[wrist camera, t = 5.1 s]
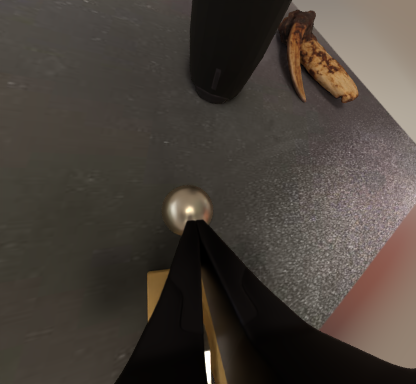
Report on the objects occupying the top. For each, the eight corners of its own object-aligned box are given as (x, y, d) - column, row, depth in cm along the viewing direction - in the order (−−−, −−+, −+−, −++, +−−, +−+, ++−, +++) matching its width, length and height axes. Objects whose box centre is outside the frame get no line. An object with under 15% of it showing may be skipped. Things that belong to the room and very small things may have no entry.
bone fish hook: (251, 44, 31) (319, 125, 29) (263, 12, 26) (344, 106, 25) (288, 25, 33) (353, 100, 32) (306, -7, 28) (382, 78, 27)
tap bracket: (148, 271, 20) (131, 300, 12) (217, 262, 22) (244, 283, 14) (150, 374, 18) (131, 497, 10) (225, 357, 20) (263, 450, 12)
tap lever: (161, 185, 14) (158, 186, 11) (207, 183, 15) (218, 184, 11) (169, 356, 15) (169, 409, 11) (212, 346, 16) (223, 394, 12)
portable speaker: (207, 47, 28) (276, -311, 10) (254, 85, 29) (410, -195, 10) (172, 79, 26) (174, -316, 7) (223, 119, 26) (354, -161, 7)
